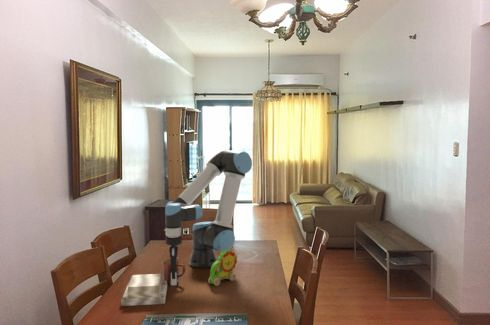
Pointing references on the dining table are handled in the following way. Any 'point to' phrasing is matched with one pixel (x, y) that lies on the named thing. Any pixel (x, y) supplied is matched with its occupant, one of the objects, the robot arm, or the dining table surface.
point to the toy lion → (223, 267)
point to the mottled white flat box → (145, 290)
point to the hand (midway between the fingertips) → (174, 281)
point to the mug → (167, 268)
